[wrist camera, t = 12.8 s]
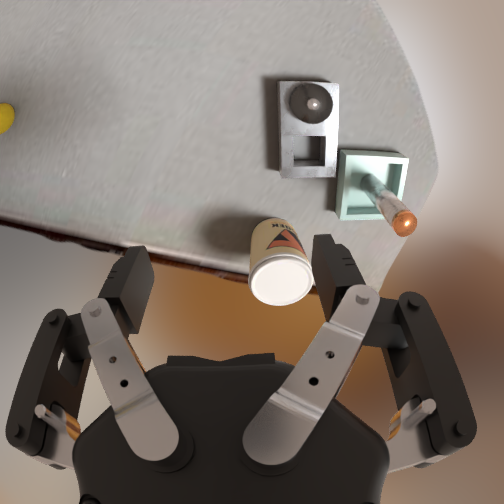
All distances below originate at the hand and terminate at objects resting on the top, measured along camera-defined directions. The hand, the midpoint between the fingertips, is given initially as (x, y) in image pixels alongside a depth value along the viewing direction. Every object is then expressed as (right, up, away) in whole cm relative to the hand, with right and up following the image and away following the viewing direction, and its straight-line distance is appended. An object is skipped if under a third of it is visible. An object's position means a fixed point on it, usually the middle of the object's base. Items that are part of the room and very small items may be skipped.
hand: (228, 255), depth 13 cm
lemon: (-42, +25, +17) cm, 52 cm away
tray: (+20, +12, +30) cm, 38 cm away
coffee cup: (+5, +3, +36) cm, 36 cm away
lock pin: (+20, +11, +29) cm, 37 cm away
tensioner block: (+9, +18, +24) cm, 32 cm away
